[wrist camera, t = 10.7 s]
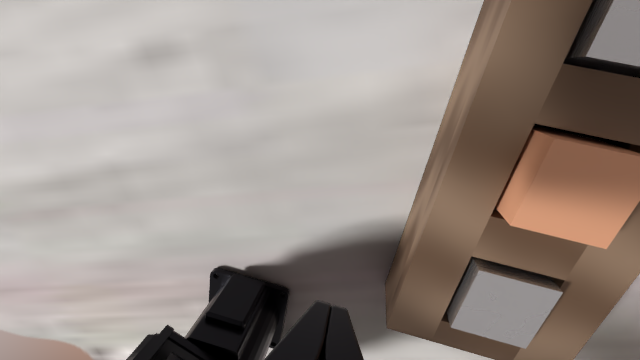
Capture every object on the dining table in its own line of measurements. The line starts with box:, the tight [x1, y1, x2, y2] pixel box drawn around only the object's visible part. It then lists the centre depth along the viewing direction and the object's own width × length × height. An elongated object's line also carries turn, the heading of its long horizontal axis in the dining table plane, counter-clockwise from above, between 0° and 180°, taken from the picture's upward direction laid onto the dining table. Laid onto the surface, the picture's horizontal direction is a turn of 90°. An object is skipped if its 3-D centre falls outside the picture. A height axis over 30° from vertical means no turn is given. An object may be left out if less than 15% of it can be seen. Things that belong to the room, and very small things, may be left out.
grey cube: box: [446, 256, 563, 349], centre depth 17 cm, size 4×4×4 cm
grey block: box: [563, 0, 640, 76], centre depth 12 cm, size 4×4×4 cm
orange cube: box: [495, 126, 640, 249], centre depth 14 cm, size 4×4×4 cm
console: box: [385, 0, 640, 360], centre depth 15 cm, size 22×10×4 cm, turn 169°
